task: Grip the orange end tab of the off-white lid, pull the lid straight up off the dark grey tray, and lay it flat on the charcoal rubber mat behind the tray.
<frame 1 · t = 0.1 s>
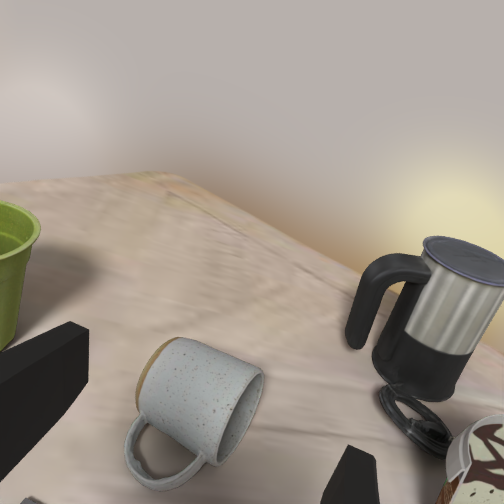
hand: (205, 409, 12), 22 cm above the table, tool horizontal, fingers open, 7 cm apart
ceramic mug: (185, 441, 36), on the table
milk frother: (412, 397, 47), on the table
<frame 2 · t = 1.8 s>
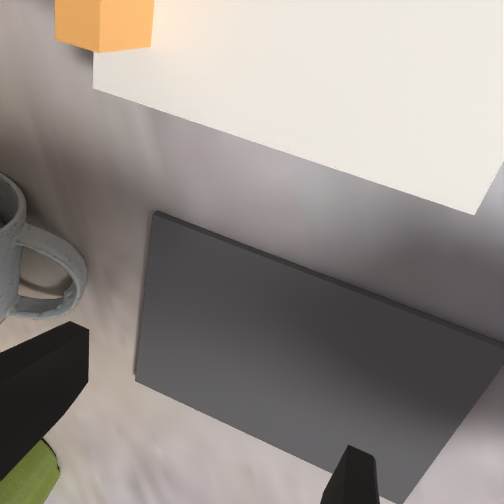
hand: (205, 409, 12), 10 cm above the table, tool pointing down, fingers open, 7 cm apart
ceramic mug: (20, 233, 27), on the table
mat: (287, 364, 24), on the table
plant pot: (29, 449, 38), on the table
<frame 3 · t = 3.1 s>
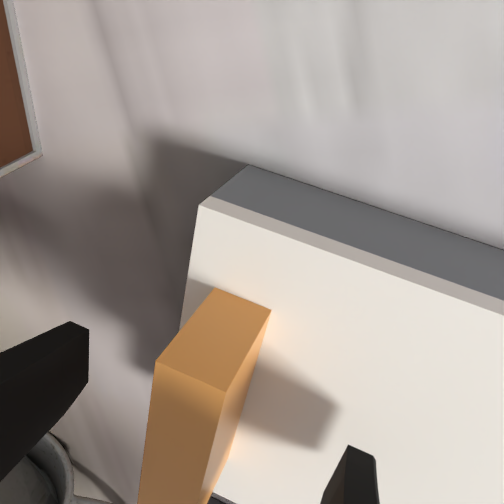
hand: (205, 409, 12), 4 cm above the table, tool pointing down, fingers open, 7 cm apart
ceramic mug: (61, 472, 25), on the table
lid: (420, 451, 12), point 3 cm above the table, touching dark grey tray
dark grey tray: (423, 383, 14), on the table
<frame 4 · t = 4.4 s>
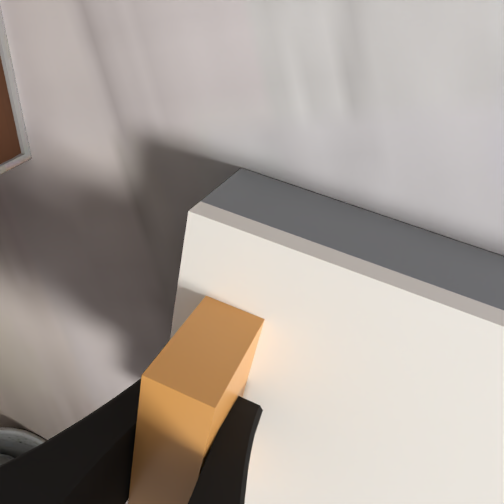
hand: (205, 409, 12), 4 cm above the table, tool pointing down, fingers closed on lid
ceramic mug: (60, 481, 25), on the table
lid: (418, 463, 12), point 3 cm above the table, touching gripper, dark grey tray
dark grey tray: (421, 391, 14), on the table
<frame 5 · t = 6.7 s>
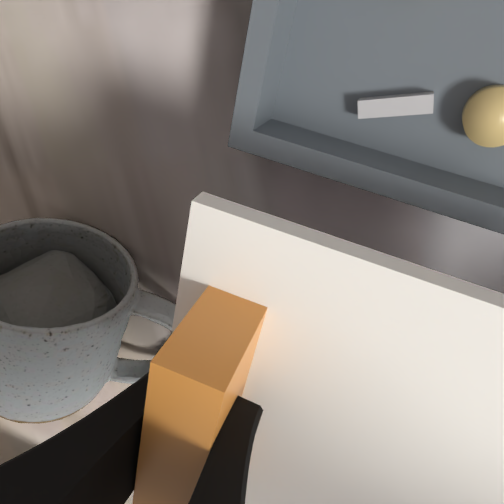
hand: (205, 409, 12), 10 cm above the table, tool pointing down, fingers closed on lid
ceramic mug: (116, 291, 25), on the table
lid: (418, 446, 12), point 8 cm above the table, touching gripper
dark grey tray: (488, 38, 14), on the table
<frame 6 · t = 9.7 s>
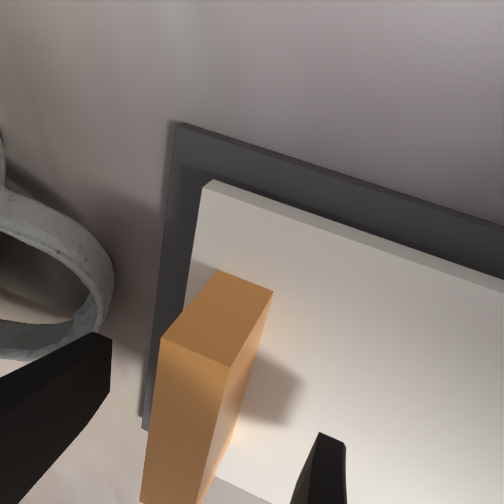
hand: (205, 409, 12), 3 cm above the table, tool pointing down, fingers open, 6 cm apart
mat: (420, 411, 13), on the table
lid: (420, 431, 12), point 1 cm above the table, touching mat
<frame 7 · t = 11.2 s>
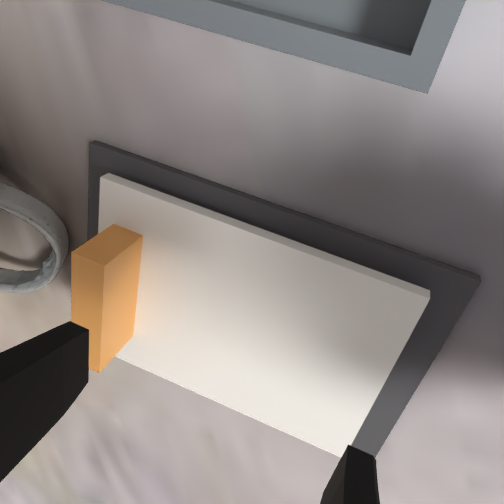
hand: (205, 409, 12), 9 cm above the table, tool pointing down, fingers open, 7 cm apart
mat: (243, 312, 22), on the table
lid: (234, 319, 21), point 1 cm above the table, touching mat
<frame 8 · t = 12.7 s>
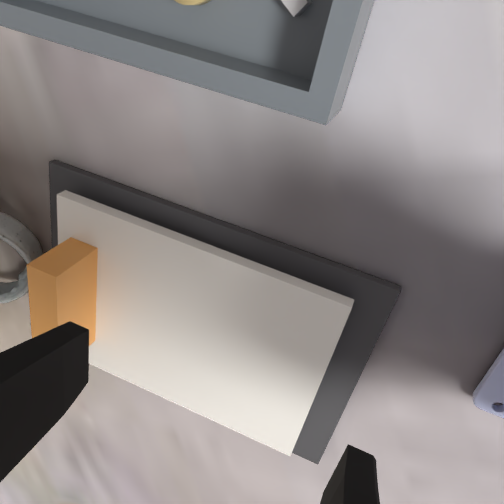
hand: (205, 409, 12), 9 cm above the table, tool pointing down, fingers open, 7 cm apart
mat: (195, 318, 23), on the table
lid: (185, 325, 22), point 1 cm above the table, touching mat
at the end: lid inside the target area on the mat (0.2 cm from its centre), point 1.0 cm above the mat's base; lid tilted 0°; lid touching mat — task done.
